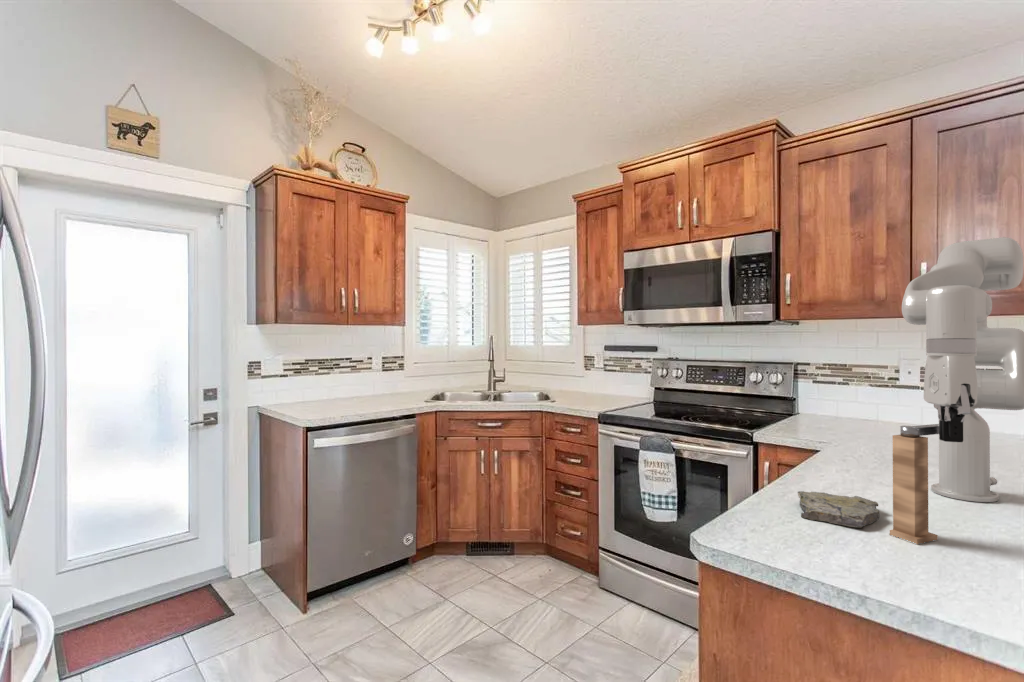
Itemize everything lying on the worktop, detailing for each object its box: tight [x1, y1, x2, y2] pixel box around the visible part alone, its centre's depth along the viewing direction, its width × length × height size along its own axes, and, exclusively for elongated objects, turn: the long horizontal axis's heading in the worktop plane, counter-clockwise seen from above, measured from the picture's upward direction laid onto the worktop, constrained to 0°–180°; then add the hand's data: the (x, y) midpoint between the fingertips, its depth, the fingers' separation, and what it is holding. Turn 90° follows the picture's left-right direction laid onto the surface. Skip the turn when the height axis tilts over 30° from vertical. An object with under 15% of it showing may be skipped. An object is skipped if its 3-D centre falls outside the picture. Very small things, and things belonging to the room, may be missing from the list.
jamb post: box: [889, 434, 939, 545], centre depth 99 cm, size 6×5×20 cm
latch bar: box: [899, 423, 939, 437], centre depth 101 cm, size 13×3×2 cm, turn 108°
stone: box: [797, 490, 880, 528], centre depth 112 cm, size 18×15×4 cm
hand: (951, 441), depth 99 cm, fingers closed
